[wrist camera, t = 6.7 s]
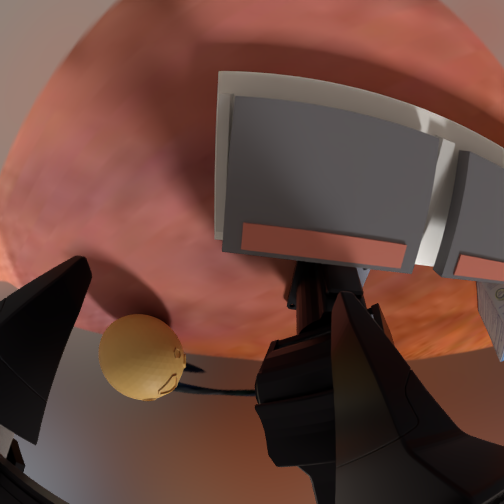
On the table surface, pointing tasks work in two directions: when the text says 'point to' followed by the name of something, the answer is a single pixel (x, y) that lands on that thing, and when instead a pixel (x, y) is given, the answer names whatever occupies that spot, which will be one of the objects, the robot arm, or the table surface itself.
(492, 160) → the light switch base
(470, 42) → the table surface
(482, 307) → the medicine box
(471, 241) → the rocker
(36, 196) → the table surface
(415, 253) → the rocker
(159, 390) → the stress ball
